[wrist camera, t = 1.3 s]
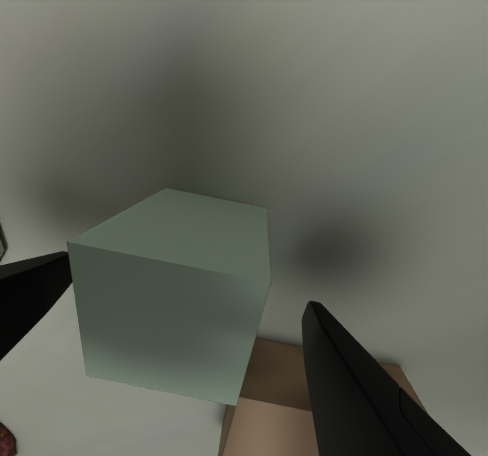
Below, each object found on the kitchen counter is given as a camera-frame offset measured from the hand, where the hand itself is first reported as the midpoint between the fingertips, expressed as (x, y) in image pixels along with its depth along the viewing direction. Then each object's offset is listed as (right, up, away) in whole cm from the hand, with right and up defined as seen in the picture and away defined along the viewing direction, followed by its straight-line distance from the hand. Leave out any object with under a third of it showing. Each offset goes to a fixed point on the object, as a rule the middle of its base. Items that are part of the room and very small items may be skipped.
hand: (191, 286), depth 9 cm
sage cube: (0, +1, +3) cm, 4 cm away
